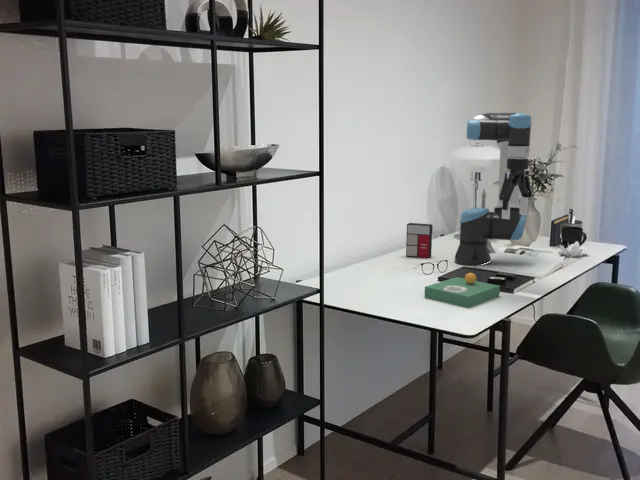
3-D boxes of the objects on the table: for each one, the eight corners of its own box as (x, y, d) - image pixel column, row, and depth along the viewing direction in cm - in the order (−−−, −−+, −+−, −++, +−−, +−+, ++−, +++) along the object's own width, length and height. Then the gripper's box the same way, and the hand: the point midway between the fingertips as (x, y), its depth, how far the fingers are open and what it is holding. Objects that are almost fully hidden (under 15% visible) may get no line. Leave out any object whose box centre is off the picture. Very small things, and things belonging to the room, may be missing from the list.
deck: (424, 297, 235) (424, 286, 234) (456, 287, 248) (456, 276, 248) (468, 308, 222) (468, 296, 221) (499, 296, 236) (499, 285, 235)
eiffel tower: (465, 249, 317) (468, 187, 311) (494, 250, 315) (497, 187, 309) (467, 255, 304) (470, 190, 298) (497, 256, 302) (500, 191, 296)
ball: (462, 283, 238) (462, 272, 237) (468, 281, 241) (469, 271, 240) (472, 285, 235) (472, 274, 234) (478, 283, 238) (478, 272, 237)
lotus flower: (590, 265, 285) (591, 245, 283) (553, 262, 290) (554, 242, 289) (589, 258, 298) (591, 239, 297) (554, 255, 304) (555, 237, 302)
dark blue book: (552, 251, 313) (555, 219, 310) (548, 250, 314) (551, 219, 311) (568, 245, 328) (570, 214, 325) (564, 244, 329) (567, 214, 326)
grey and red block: (405, 256, 301) (406, 224, 298) (408, 254, 305) (408, 222, 302) (429, 258, 296) (430, 225, 294) (431, 256, 300) (432, 224, 298)
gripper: (511, 160, 226) (507, 221, 230) (543, 157, 244) (539, 214, 248) (491, 159, 231) (488, 219, 235) (524, 156, 249) (521, 212, 253)
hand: (514, 216), depth 241 cm, fingers open, 13 cm apart
